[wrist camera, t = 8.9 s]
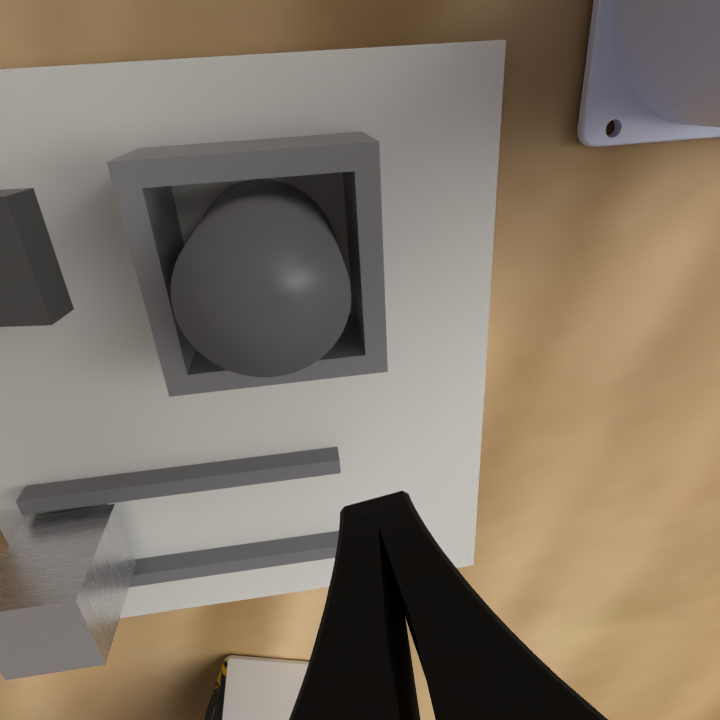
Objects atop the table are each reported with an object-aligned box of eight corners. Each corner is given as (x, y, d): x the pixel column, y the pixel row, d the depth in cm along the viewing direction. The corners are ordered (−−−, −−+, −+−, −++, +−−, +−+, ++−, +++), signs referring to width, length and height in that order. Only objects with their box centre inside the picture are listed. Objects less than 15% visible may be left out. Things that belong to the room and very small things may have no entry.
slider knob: (115, 503, 19) (75, 600, 15) (136, 563, 20) (105, 664, 17) (26, 515, 18) (-34, 616, 15) (54, 574, 20) (5, 680, 16)
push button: (329, 174, 15) (344, 201, 11) (340, 307, 16) (356, 367, 13) (183, 186, 14) (150, 217, 11) (211, 320, 16) (191, 386, 13)
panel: (486, 43, 15) (558, 28, 11) (463, 539, 25) (497, 626, 21) (-180, 83, 14) (-368, 81, 10) (64, 597, 23) (19, 703, 19)
